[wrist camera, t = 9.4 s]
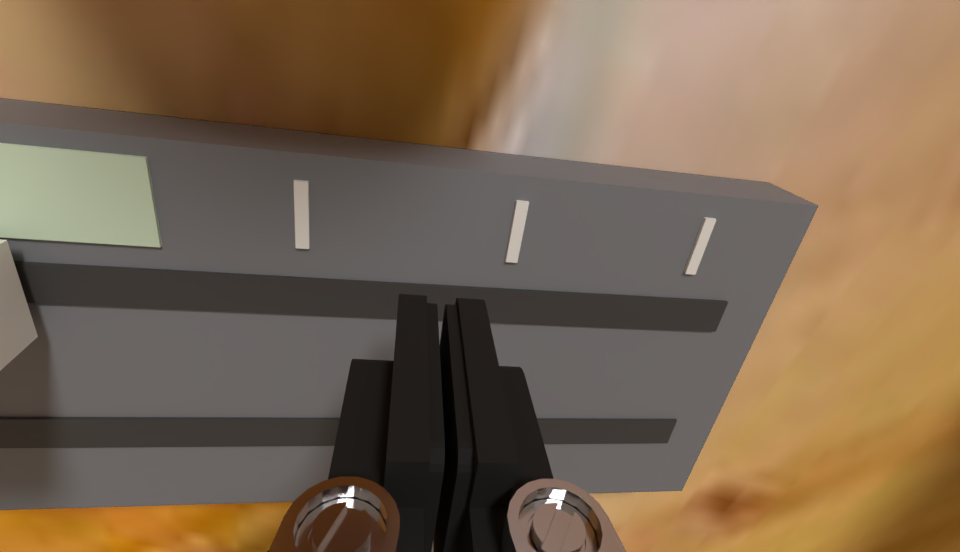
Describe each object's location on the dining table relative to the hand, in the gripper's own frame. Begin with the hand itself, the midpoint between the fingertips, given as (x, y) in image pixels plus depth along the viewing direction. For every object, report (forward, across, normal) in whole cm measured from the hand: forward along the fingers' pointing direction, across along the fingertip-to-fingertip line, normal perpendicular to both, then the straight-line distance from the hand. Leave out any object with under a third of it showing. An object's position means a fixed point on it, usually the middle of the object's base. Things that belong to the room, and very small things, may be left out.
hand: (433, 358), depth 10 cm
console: (+5, +3, +2) cm, 6 cm away
